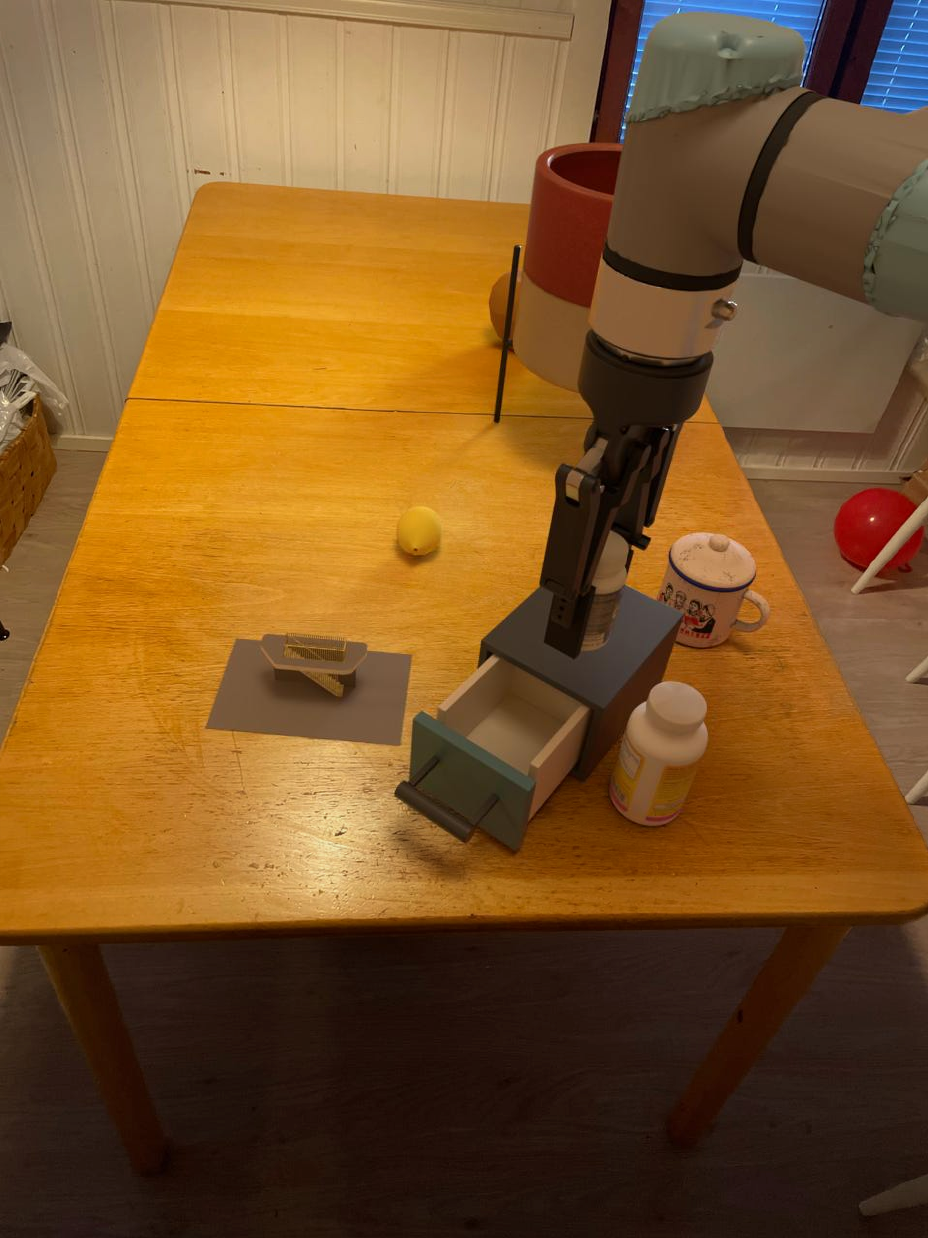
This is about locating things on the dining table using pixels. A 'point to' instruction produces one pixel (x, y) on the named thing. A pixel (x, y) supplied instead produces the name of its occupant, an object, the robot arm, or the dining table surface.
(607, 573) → the pill bottle
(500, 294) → the apple
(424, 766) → the teal drawer
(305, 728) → the platform
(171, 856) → the dining table surface
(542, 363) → the planter
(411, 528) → the lemon
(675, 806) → the supplement bottle
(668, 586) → the teacup with lid
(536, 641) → the drawer cabinet
